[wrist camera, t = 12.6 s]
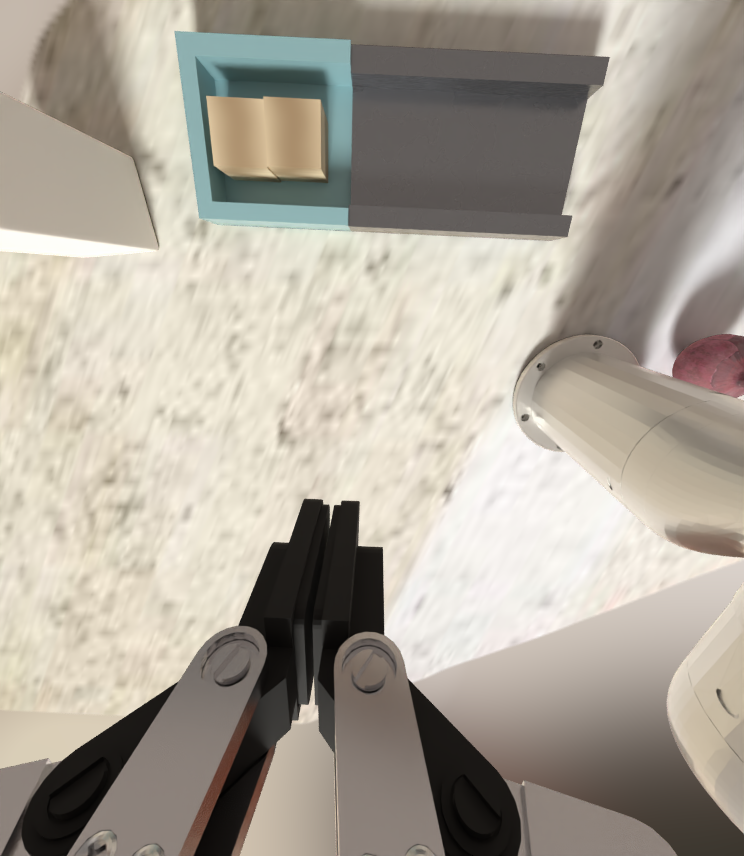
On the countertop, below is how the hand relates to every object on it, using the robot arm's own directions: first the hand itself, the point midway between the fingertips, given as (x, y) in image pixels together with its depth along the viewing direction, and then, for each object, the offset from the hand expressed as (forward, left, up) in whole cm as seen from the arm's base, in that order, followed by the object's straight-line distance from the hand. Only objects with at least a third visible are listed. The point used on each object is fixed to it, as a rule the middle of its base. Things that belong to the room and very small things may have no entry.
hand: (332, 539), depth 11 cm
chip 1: (+17, -8, -27) cm, 33 cm away
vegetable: (-26, -19, -27) cm, 42 cm away
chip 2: (+14, -11, -27) cm, 32 cm away
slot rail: (+3, -18, -27) cm, 33 cm away
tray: (+16, -10, -27) cm, 33 cm away
